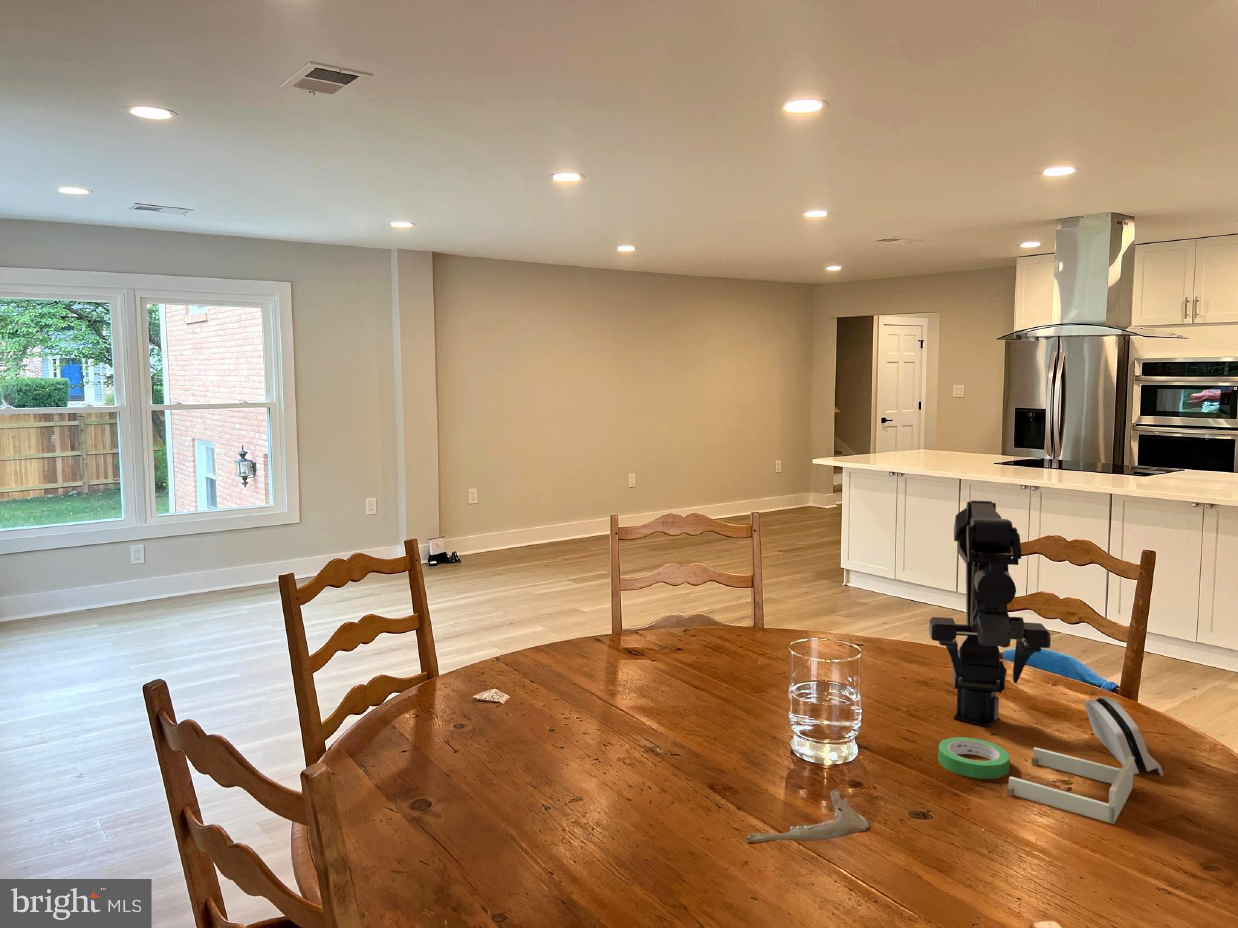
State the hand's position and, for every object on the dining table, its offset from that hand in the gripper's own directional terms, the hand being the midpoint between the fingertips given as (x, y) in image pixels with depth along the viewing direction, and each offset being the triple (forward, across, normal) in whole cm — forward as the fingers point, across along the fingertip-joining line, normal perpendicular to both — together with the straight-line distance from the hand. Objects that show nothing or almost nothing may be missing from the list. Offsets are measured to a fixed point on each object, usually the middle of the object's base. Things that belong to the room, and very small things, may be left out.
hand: (986, 680), depth 148 cm
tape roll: (+13, -2, -6) cm, 15 cm away
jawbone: (+14, -30, -32) cm, 46 cm away
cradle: (+13, +11, -12) cm, 21 cm away
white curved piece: (+13, +22, +5) cm, 26 cm away
